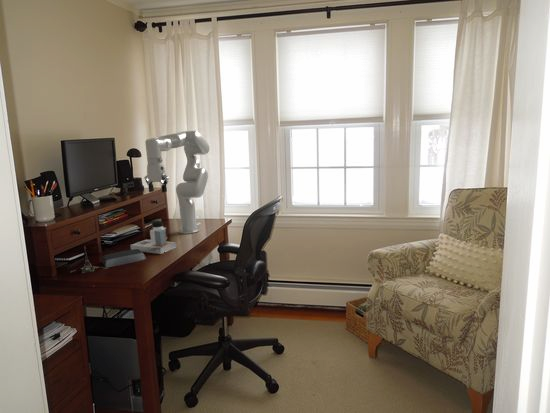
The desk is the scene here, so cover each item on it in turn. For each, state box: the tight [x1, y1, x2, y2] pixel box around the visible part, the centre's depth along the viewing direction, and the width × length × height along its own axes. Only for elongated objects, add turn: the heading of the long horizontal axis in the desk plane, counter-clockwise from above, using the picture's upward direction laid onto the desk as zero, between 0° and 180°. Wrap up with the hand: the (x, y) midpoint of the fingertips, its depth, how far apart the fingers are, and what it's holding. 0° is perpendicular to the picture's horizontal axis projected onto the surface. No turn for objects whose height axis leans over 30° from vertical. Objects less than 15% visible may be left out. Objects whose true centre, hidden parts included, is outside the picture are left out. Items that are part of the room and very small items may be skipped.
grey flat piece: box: [130, 239, 177, 255], centre depth 221 cm, size 12×22×3 cm, turn 63°
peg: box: [154, 229, 167, 246], centre depth 218 cm, size 4×4×11 cm
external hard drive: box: [101, 249, 147, 268], centre depth 203 cm, size 13×19×4 cm
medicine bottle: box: [149, 219, 168, 240], centre depth 238 cm, size 7×7×12 cm
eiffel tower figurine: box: [70, 246, 109, 274], centre depth 190 cm, size 15×10×13 cm
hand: (157, 191), depth 225 cm, fingers open, 9 cm apart
